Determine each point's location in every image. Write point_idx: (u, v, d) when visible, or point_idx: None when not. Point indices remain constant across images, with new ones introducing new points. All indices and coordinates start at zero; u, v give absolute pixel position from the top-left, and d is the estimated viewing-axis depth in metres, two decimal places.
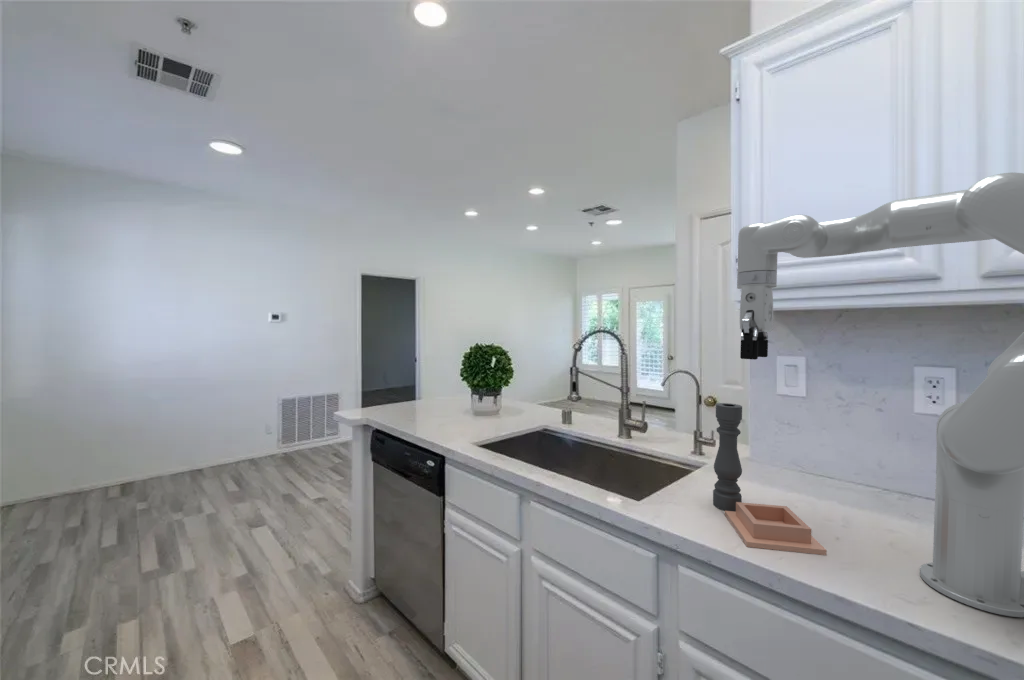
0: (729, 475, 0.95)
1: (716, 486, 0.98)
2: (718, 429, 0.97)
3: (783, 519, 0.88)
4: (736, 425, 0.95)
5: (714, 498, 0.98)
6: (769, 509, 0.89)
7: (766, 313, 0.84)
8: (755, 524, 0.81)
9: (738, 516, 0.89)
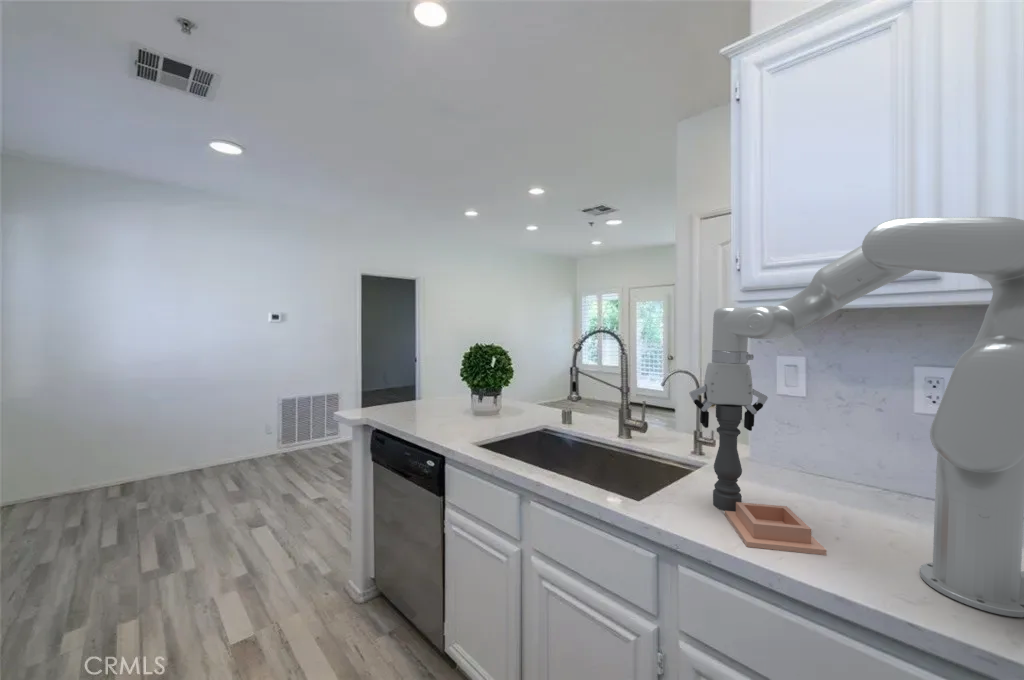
0: (729, 475, 0.95)
1: (716, 486, 0.98)
2: (718, 429, 0.97)
3: (783, 519, 0.88)
4: (736, 425, 0.95)
5: (714, 498, 0.98)
6: (769, 509, 0.89)
7: None
8: (755, 524, 0.81)
9: (738, 516, 0.89)
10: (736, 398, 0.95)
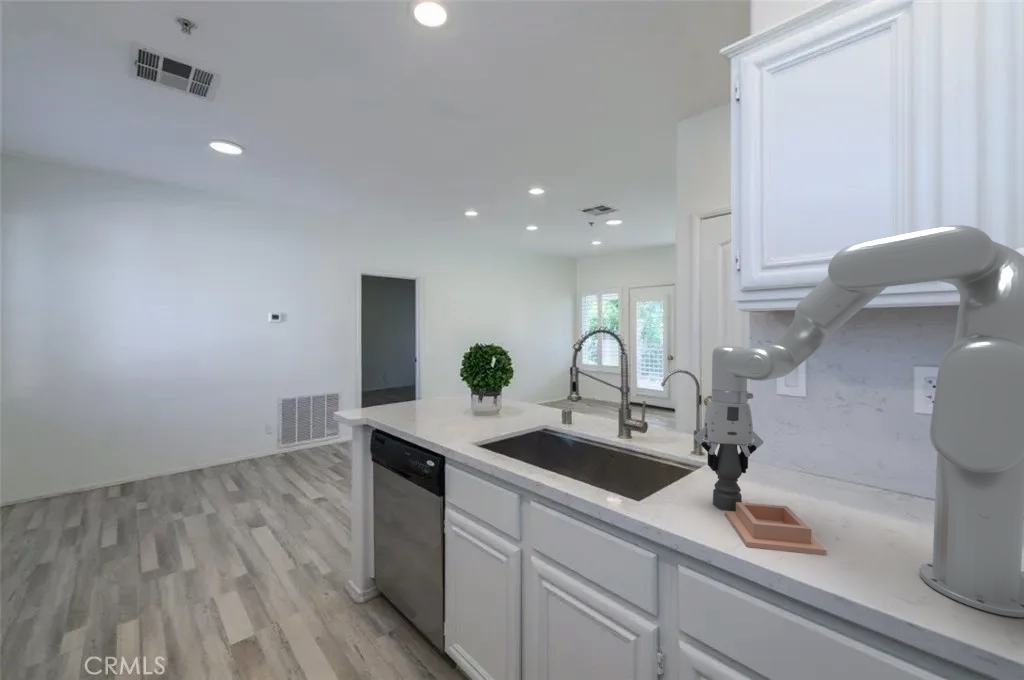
0: (729, 475, 0.95)
1: (716, 486, 0.98)
2: None
3: (783, 519, 0.88)
4: None
5: (714, 498, 0.98)
6: (769, 509, 0.89)
7: None
8: (755, 524, 0.81)
9: (738, 516, 0.89)
10: (736, 437, 0.95)
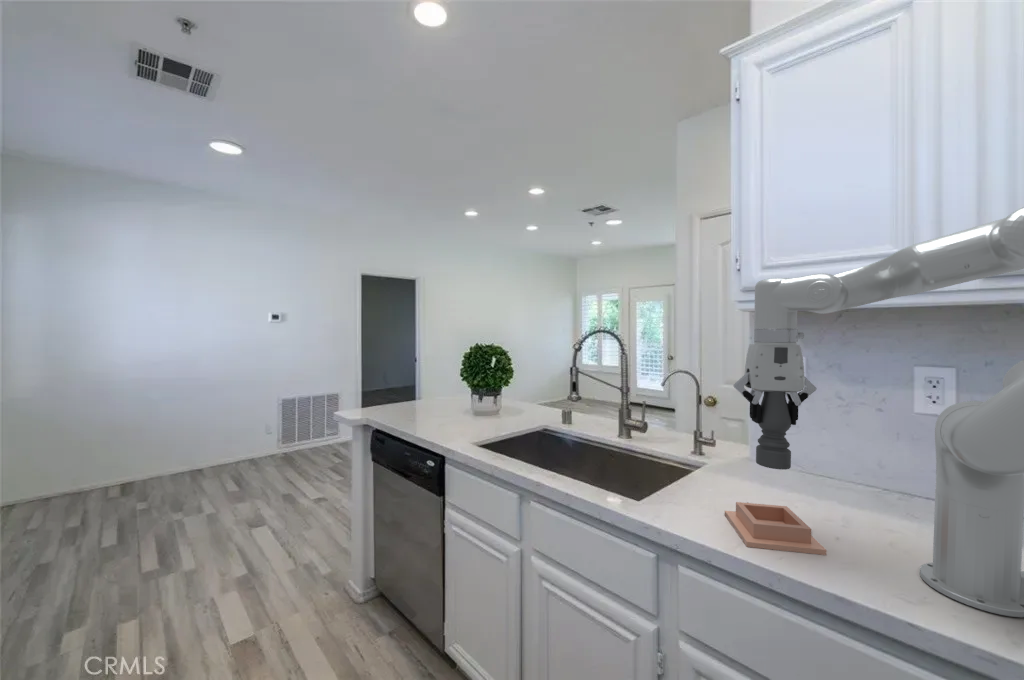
0: (777, 427, 0.82)
1: (761, 441, 0.84)
2: None
3: (783, 519, 0.88)
4: None
5: (758, 455, 0.85)
6: (769, 509, 0.89)
7: None
8: (755, 524, 0.81)
9: (738, 516, 0.89)
10: (785, 383, 0.82)
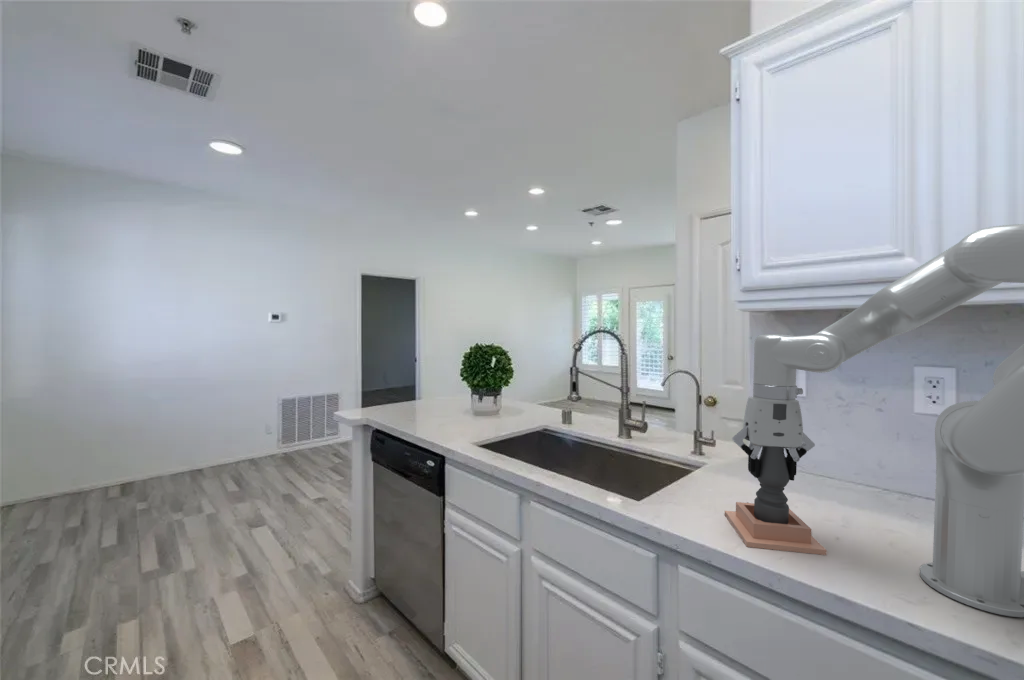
0: (775, 483, 0.82)
1: (759, 495, 0.85)
2: None
3: None
4: None
5: (756, 509, 0.85)
6: None
7: None
8: (755, 524, 0.81)
9: (738, 516, 0.89)
10: (784, 439, 0.82)
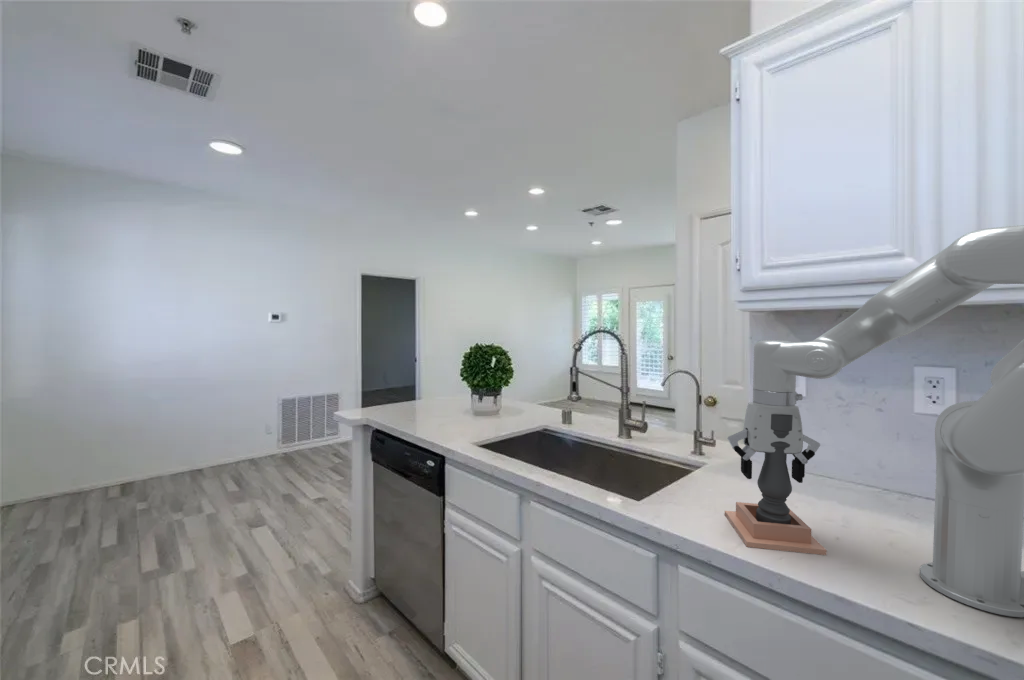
0: (777, 494, 0.82)
1: (761, 505, 0.85)
2: None
3: None
4: None
5: (758, 519, 0.85)
6: None
7: None
8: (755, 524, 0.81)
9: (738, 516, 0.89)
10: None
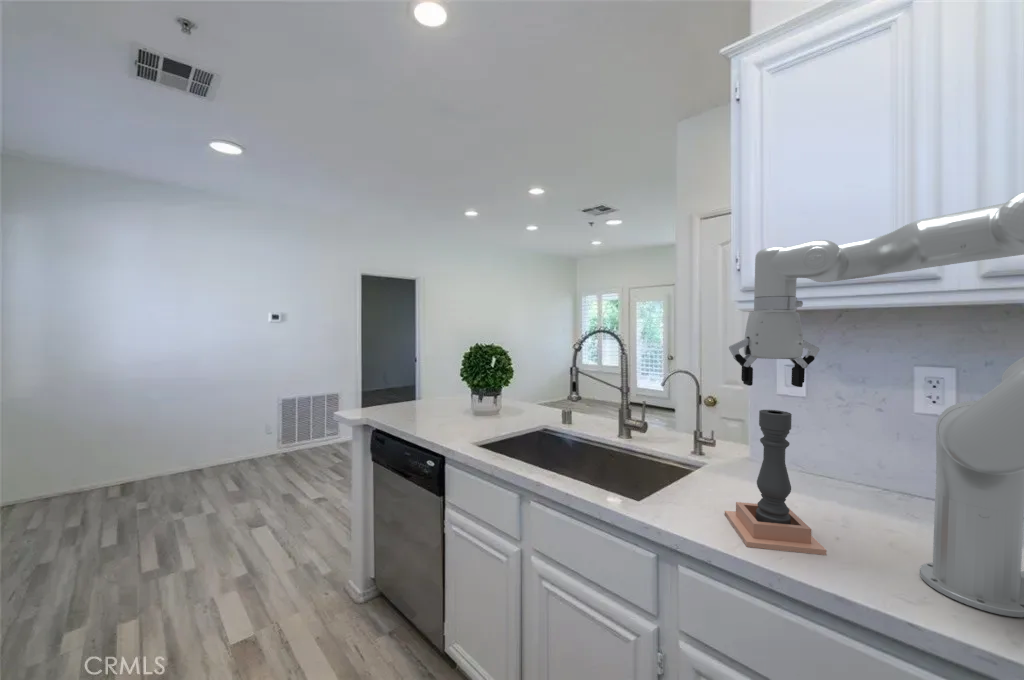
0: (776, 494, 0.82)
1: (760, 506, 0.85)
2: (763, 440, 0.84)
3: None
4: (785, 436, 0.82)
5: (758, 519, 0.85)
6: None
7: None
8: (755, 524, 0.81)
9: (738, 516, 0.89)
10: (784, 350, 0.83)
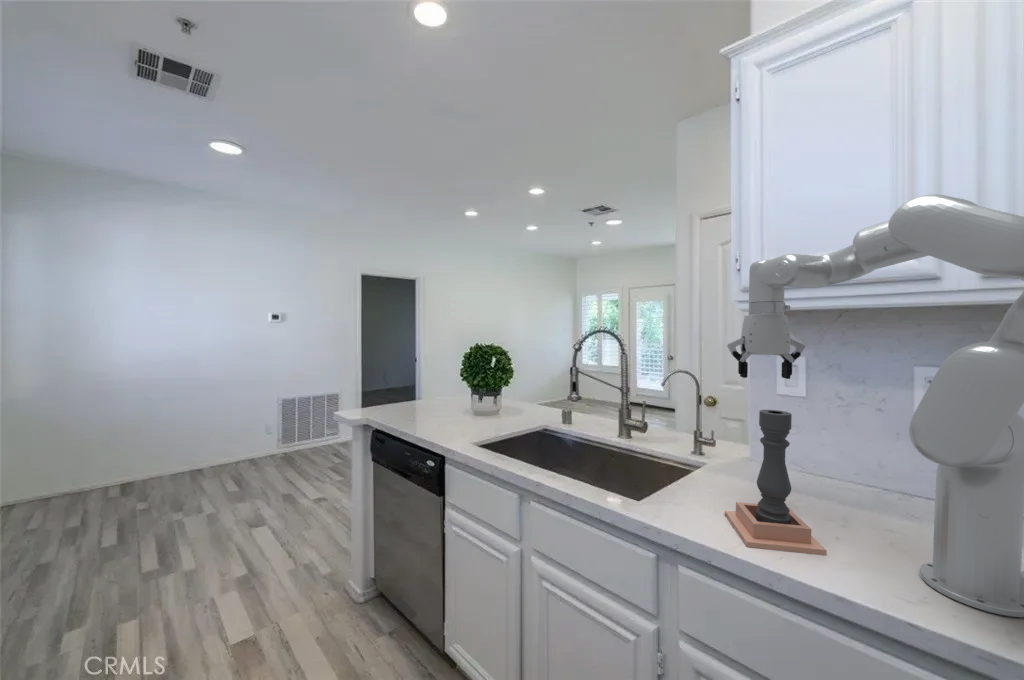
0: (776, 494, 0.82)
1: (760, 506, 0.85)
2: (763, 440, 0.84)
3: None
4: (785, 436, 0.82)
5: (758, 519, 0.85)
6: None
7: None
8: (755, 524, 0.81)
9: (738, 516, 0.89)
10: (774, 347, 0.98)
